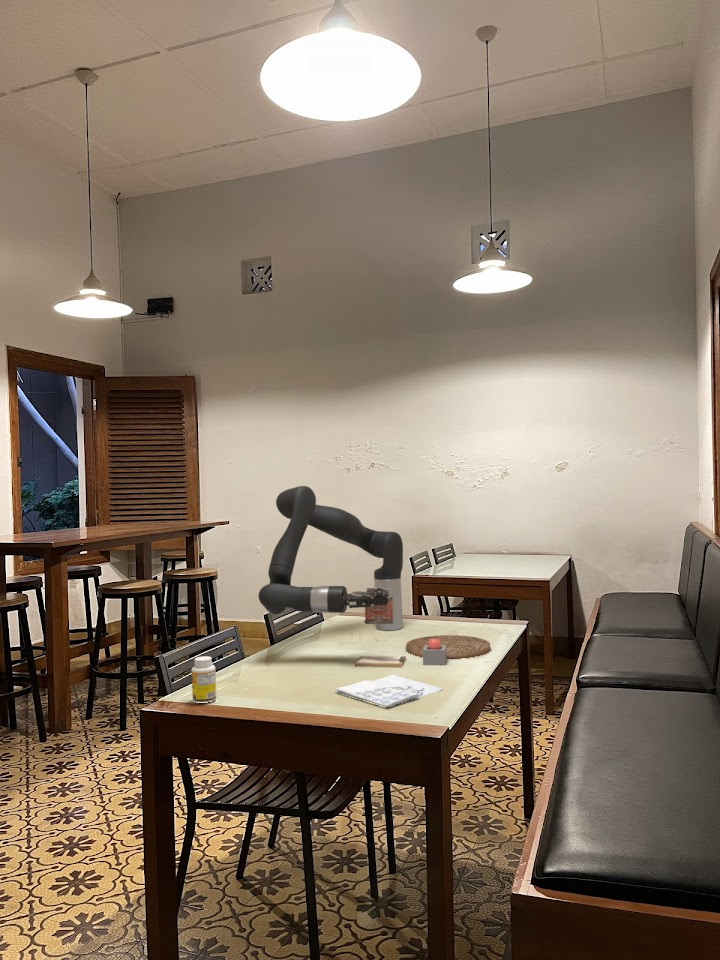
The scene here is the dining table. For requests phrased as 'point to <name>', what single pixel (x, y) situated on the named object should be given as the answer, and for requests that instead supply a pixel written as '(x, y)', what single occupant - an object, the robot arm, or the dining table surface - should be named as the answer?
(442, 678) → the dining table surface
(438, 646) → the button
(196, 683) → the supplement bottle
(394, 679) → the folded patterned cloth
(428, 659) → the button box
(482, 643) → the trivet
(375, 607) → the lighter
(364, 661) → the clipboard
